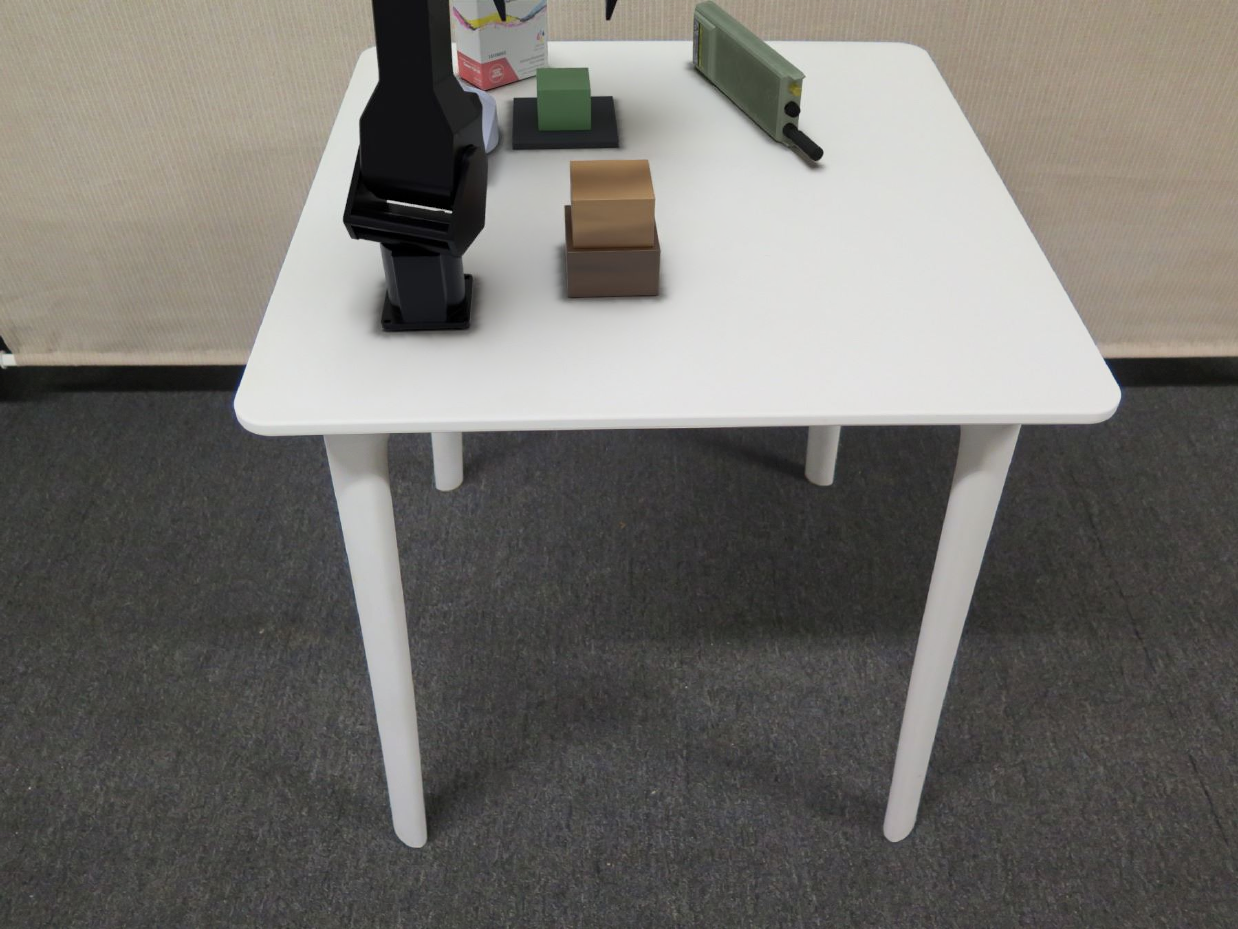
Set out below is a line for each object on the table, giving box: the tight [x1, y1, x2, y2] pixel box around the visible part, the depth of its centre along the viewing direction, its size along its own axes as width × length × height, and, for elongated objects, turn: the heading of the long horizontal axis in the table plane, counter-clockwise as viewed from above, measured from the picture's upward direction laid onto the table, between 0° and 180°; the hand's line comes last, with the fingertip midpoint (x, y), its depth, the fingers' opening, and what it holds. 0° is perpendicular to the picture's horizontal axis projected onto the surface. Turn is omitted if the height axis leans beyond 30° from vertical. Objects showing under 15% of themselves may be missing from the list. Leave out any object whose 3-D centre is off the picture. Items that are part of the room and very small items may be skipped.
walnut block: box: [563, 204, 661, 298], centre depth 79 cm, size 7×7×4 cm
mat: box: [511, 95, 620, 150], centre depth 99 cm, size 10×10×1 cm
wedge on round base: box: [457, 79, 500, 154], centre depth 92 cm, size 9×7×13 cm
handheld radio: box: [692, 0, 825, 162], centre depth 99 cm, size 7×3×25 cm
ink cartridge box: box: [451, 0, 549, 91], centre depth 102 cm, size 9×5×15 cm, turn 130°
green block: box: [535, 66, 592, 131], centre depth 97 cm, size 5×5×4 cm
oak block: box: [569, 158, 656, 248], centre depth 76 cm, size 6×6×4 cm
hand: (556, 19), depth 90 cm, fingers open, 9 cm apart
